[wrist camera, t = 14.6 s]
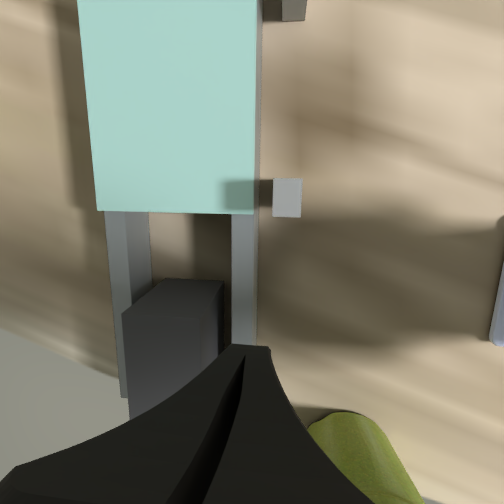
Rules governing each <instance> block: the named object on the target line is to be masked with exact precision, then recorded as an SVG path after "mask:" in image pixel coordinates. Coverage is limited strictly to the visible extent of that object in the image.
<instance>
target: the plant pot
mask: <svg viewBox="0 0 504 504" xmlns="http://www.w3.org/2000/svg"><path fill="white" fill-rule="evenodd" d="M307 431H308V432H309V433H310V435H311V436H312V438H313V439H314V440H315V442H316V443H317V444H318V445H319V447H320V448H321V449H322V450H323V451H324V452H325V454H326V455H327V456H328V457H329V458H330V460H331V461H332V462H333V463H334V464H335V466H336V467H337V468H338V469H339V470H340V471H341V472H342V473H343V474H344V475H345V476H346V477H347V478H348V479H349V480H350V481H351V482H352V483H353V484H354V485H355V486H356V487H357V488H358V489H359V490H360V491H361V492H363V493H364V494H365V495H366V496H367V497H368V498H369V499H370V500H372V501H373V502H374V503H375V504H425V503H424V501H423V499H422V497H421V496H420V494H419V492H418V491H417V489H416V487H415V485H414V484H413V482H412V480H411V479H410V477H409V475H408V473H407V472H406V470H405V468H404V466H403V465H402V463H401V461H400V459H399V458H398V456H397V454H396V452H395V451H394V449H393V447H392V445H391V444H390V442H389V440H388V438H387V436H386V435H385V433H384V432H383V431H382V430H381V429H380V428H379V426H378V425H377V424H376V423H375V422H373V421H372V420H370V419H369V418H367V417H365V416H362V415H359V414H355V413H349V412H337V413H332V414H330V415H328V416H327V417H325V418H324V419H322V420H320V421H318V422H315V423H312V424H311V425H310V426H309V427H308V429H307Z"/></svg>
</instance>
